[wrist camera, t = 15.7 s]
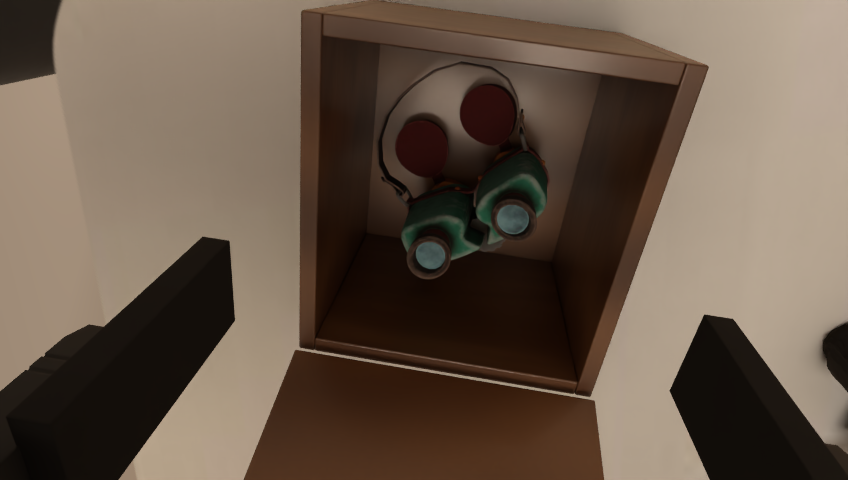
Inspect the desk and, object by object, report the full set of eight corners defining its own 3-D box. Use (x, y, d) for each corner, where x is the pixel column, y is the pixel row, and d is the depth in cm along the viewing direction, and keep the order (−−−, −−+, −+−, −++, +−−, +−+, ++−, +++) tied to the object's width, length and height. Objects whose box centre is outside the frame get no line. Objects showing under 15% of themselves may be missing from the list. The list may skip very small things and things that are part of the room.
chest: (372, -1, 30) (300, 9, 18) (624, 33, 29) (710, 65, 18) (357, 235, 37) (298, 348, 26) (559, 267, 36) (590, 397, 25)
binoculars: (483, 37, 20) (582, 249, 23) (493, 37, 30) (561, 186, 32) (304, 139, 23) (409, 318, 25) (365, 109, 33) (438, 241, 35)
